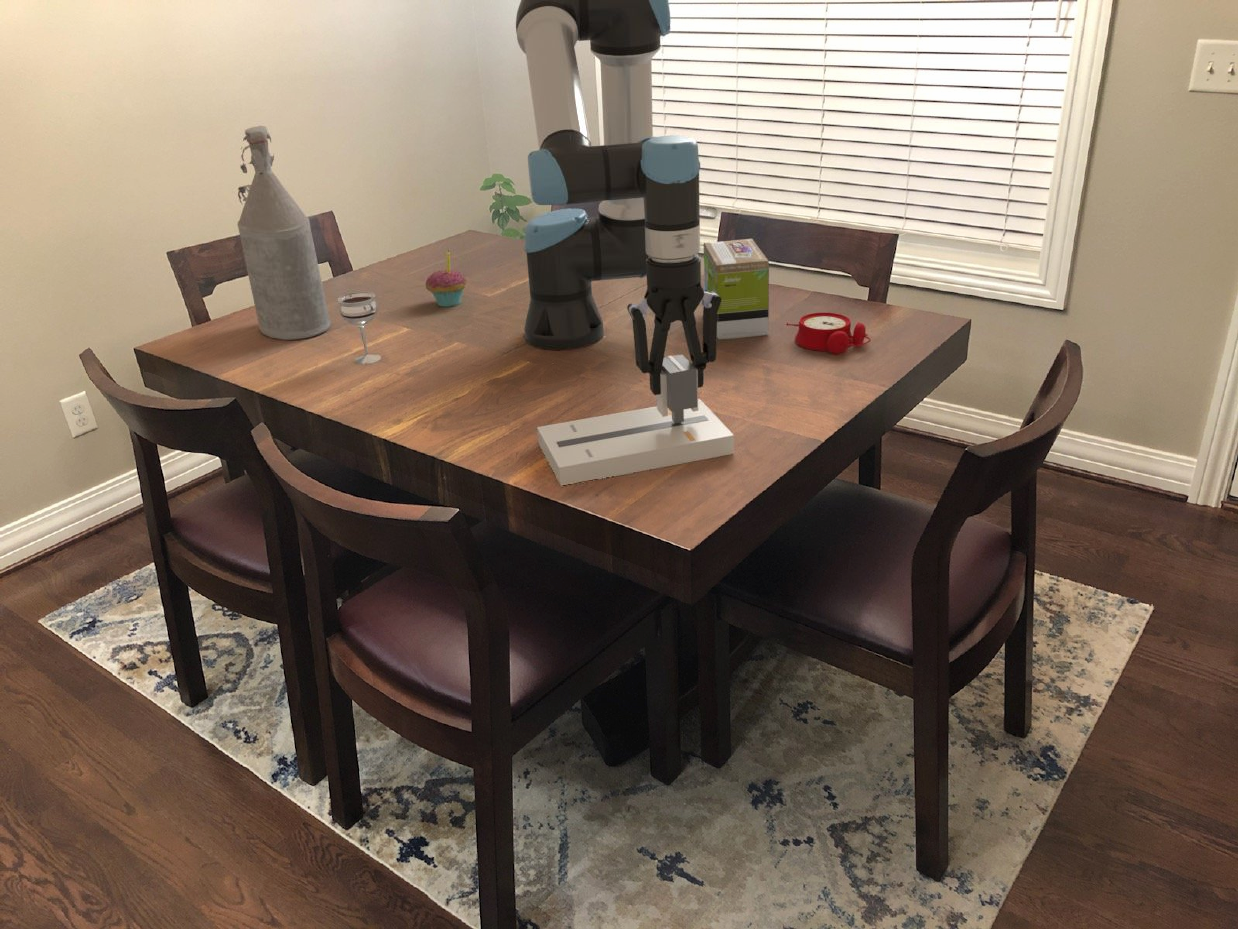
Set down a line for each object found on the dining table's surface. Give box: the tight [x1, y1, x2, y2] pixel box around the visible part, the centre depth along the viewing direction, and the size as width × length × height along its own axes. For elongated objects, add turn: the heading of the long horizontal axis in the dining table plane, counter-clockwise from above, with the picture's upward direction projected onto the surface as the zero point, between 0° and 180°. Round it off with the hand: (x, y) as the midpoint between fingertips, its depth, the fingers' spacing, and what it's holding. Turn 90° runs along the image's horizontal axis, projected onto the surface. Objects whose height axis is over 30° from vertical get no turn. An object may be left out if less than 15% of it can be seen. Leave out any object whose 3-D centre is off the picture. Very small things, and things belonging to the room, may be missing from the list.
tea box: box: [703, 238, 770, 340], centre depth 192 cm, size 15×10×15 cm
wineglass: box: [337, 291, 382, 365], centre depth 187 cm, size 7×7×12 cm
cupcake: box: [425, 248, 467, 308], centre depth 214 cm, size 9×8×12 cm
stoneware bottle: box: [236, 125, 331, 341], centre depth 198 cm, size 13×17×40 cm
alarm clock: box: [785, 312, 871, 355], centre depth 184 cm, size 10×6×15 cm
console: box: [536, 398, 735, 486], centre depth 150 cm, size 14×26×3 cm, turn 107°
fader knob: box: [662, 354, 697, 423], centre depth 149 cm, size 6×4×9 cm, turn 17°
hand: (677, 409), depth 150 cm, fingers closed on fader knob, 4 cm apart
